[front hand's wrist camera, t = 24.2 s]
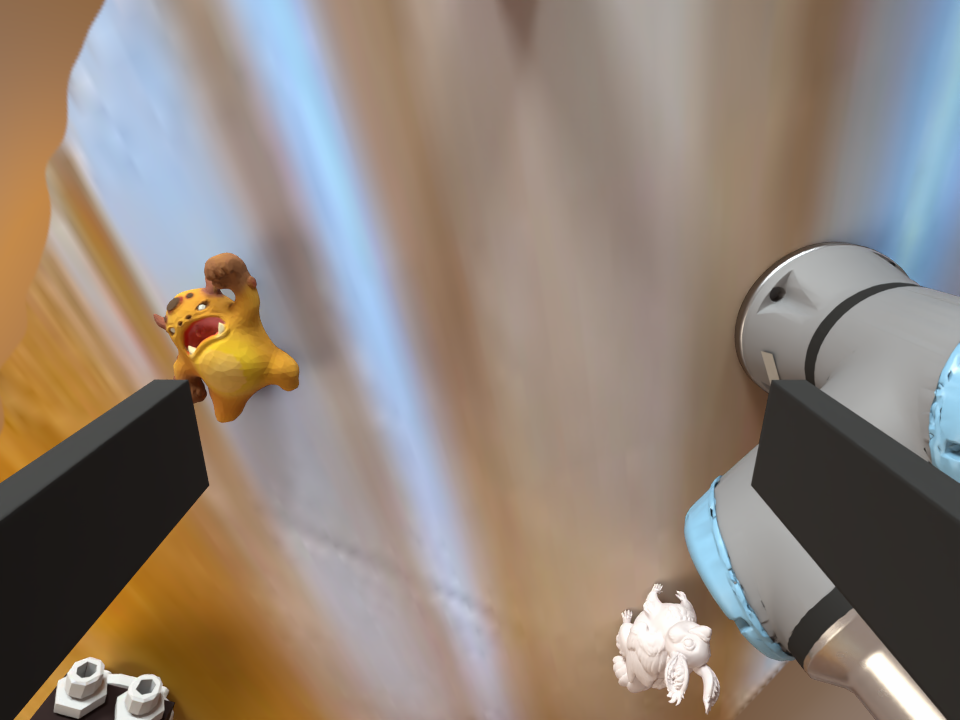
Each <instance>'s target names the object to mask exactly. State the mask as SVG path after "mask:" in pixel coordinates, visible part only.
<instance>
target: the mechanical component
mask: <svg viewBox="0 0 960 720" xmlns="http://www.w3.org/2000/svg"><path fill="white" fill-rule="evenodd" d="M104 666H105V665H104V664H103V663H102V661H101V660H99V659H95V658H91V657H89V658H86V659H83V660H80V661H78V662H75V663H74V665H73V666H72V668H71V669H70V671H69V672H68V673H67V674H66V675H65V676H64V678H62V679H61V680H59V681H58V685H57V686H56V688H55V689H54V690H53V691H52V693H51V694H50V695H49V696H48V698H47V699H46V700H45V701H44V703H43V704H42V705H41V706H40V708H39V709H38V710H37V711H36V713H35V714H34V715H33V717H32V718H31V719H30V720H173V716H174V711H173V707H174V704H175V702H171V701H169V700H168V699H167V698H166V697H167V695H168V694H169V690H168V689H167V688H166V687H164V686H162V685H163V683H162V681H161V679H160V678H159V677H157V676H156V675H154V674H144V675H142V676H139V677H137V678H136V677H132V676H128V675H123V674H112V673H111V672H110V671H107V670H104Z"/></svg>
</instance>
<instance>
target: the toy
mask: <svg viewBox="0 0 960 720" xmlns="http://www.w3.org/2000/svg"><path fill="white" fill-rule="evenodd" d="M204 273H205V280H206V288H200V289H193V290H188V291H185V292H182V293H179V294H178V295H177V296H175V298H174V299H173V300H171V301H170V302H169V304H168V305H167V312H166V316H165V317H161V316H159V315H157V314H154V319H155V321H156V323H157V325H158V326H159V327H161V328H163V329H165V330H166V332H168V333H169V335H170V337H171V339H172V341H173V342H174V344H175V345H176V347H177V348H178V351H179V355H178V356H177V361H176V362H175V363H174V366H173V368H174V374H175V376H174V380H189V385H190V390H191V395H192V400H193V404H194V403H197V402H201V401H203V400H204V399H205V397H206V396H207V392H206V390H205V385H204V383H203V382H202V379H203V381H204V382H205V383H206V385H207V386H208V389H209V394H210V396H211V398H212V401H213V404H214V410H215V415H216V418H217V420H218V421H219V422H221V423H224V422H230V421H233V420H235V419H236V418H237V417H238V416H239V415H240V414H241V413H242V411H243V409H244V407H245V404H246V402H247V401H248V400H249V398H250V397H251V396H252V395H253V394H254V393H255V392H257V391H258V390H260V389H261V388H263V387H265V386H267V385H270V384H272V385H278V386H280V387H281V388H282V389H284V390H286V391H292V390H294V389H296V388H297V387H298V385H299V379H298V378H299V367H298V364H297V363H296V362H295V360H294V359H293V358H292V357H290V356H289V355H288V354H287V353H285V352H284V351H282V350H281V349H279V348H277V347H276V346H275V345H274V344H273V343H272V341H271V340H270V338H269V337H268V335H267V334H266V332H265V330H264V328H263V326H262V323H261V320H260V316H259V306H260V299H259V295H258V292H257V289H256V285H257V284H256V280H255V279H254V278H253V277H251V275H250V274H249V272H248V270H247V267H246V265H245V263H244V262H243V260H241V259H240V258H239V257H238V256H236V255H234V254H232V253H222V254H219V255H216V256H214V257H211V258H210V259H208V260H207V262H206V263H205V269H204ZM220 289H230V290H232V291H233V292H234V294H235V301H233V300H231V299H230V298H228V297H226V296H225V295H223V294H222V293H221V291H220ZM201 378H202V379H201Z"/></svg>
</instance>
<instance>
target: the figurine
mask: <svg viewBox="0 0 960 720" xmlns="http://www.w3.org/2000/svg"><path fill="white" fill-rule="evenodd" d="M660 585H661V584H660ZM660 585H658V584H656V587H655V584H654V587H653V588H652V591H651V592H650V593H649V594H648V596H647V599H646V602H645V603H644V606H643V607H644V611H642V612H641V613H640V614H639V615H638V616H637V618H636V620H635V621H634V624H632V623H631V617H632V611H631V613H630V611H629V610H628V611H627V612H626V610H625V611H624V613H623V612H622V617H623V624H622V625H621V627H620V629H619V633H618V635H617V637H616V640H617V643H616V645H617V647H618V649H619V650H620V652H619V653H620V654H621V655H622V656H616V657H614V658H613V662H614V666H613V670H614V672H615V675H616V677H617V678H618V679H619V684H620V685H621V686H627V688H628V690H629V691H630V692H632V693H637V692H641V691H645V690H648V689H650V688H651V687H652V688H658V689H662V688H665V687H667V691H668V692H669V693H668V695H667V696H668V697H670V698H671V697H672V699H671V700H670V701H668V702H670V703H674V702H676V700H677V704H676V706H677V705H679V704H680V702H681V699H682V698H684V696H683V695H684V694H685V691H686V689H687V687H688V683H689V674H690V673H691V672H692V671H694V672H695V673H696V674H698V675H699V676H701V677H702V679H703V684H704V694H703V702H704V704H705V709H706V713H707V715H708V712H709V711H711V706H713V704H715V702H716V701H717V699H718V697H719V693H720V685H719V681H718V679H717V677H716V675H715V673H714V672H713V670H712V669H711V668H710V667H709V666H708V665H707V664H706V663H707V662H708V660H709V658H710V656H711V653H710V645H709V641H710V639H711V635H712V629H710V628H709V627H708V626H702V625H701V626H700V625H699V624H697V617H696V613H695V610H694V608H693V606H692V604H691V603H690V602H689V601H688V600H687V598H686V595H685V594H684V593H683V592H681V591H680V592H679V591H677V590H676V591H677V593H678V594H679V595H676V594H675V595H676V596H677V597H678V598H679V599H680V601H681V603H680V604H673V603H662V602H661V601H660V600H659V599H658V597H657V595H658V594H660V593H662V592H663V591H660V590H661V589H662V586H660ZM624 614H625V616H624ZM657 678H658V679H657ZM656 679H657V680H656ZM655 680H656V681H655ZM654 681H655V682H654ZM653 683H654V684H653Z"/></svg>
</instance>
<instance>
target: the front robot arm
mask: <svg viewBox="0 0 960 720" xmlns="http://www.w3.org/2000/svg"><path fill="white" fill-rule="evenodd" d="M735 347H736V352H737V356H738V359H739V361H740V364H741V366H742V367H743V369H744V371H745V372H746V374H747V375H748V376H749V377H750V378H751V380H752V381H754V382H755V383H756V384H757V385H758V386H759V387H761V388H762V389H763V390H765V391H766V392H767V393H769V395H768V400H767V405H766V410H765V415H764V421H763V426H762V431H761V436H760V441H759V444H758V445H757V446H756V447H754V448H753V449H752V450H751V451H750V452H749V453H748V454H747V455H745V456H744V457H743V458H742V459H741V460H740V461H739V462H738V463H737V464H735V465H734V466H733V467H732V468H731V469H730V470H729V471H728V472H726V473H725V474H724V475H723V476H718V477H717V478H716V479H715V480H714V481H713V483H712V484H711V487H710V489H709V490H708V491H707V492H706V493H705V494H704V495H703V496H702V497H701V498H700V499H699V500H698V501H697V502H696V503H695V504H694V505H693V506H692V507H691V508H690V509H689V511H688V513H687V515H686V517H685V528H684V534H685V540H686V544H687V548H688V551H689V553H690V556H691V558H692V560H693V563H694V565H695V567H696V569H697V571H698V573H699V575H700V577H701V578H702V580H703V582H704V584H705V585H706V587H707V589H708V590H709V592H710V593H711V595H712V596H713V598H714V600H715V601H716V602H717V604H718V605H719V607H720V608H721V610H722V611H723V612H724V613H725V615H726V616H727V617H728V618H729V619H731V620H734V621H735V623H736V625H737V627H738V628H739V630H740V632H741V634H742V635H743V636H744V637H745V638H746V639H747V640H748V641H749V642H750V643H751V644H752V645H753V646H754V647H755V648H756V649H757V650H759V651H760V652H761V653H763V654H764V655H766V656H767V657H769V658H771V659H775V660H778V661H786V660H790V661H792V660H795V659H796V660H797V662H798V663H799V664H800V665H801V667H802V668H803V669H804V671H805V672H806V673H807V674H808V676H809V677H810V678H812V679H814V680H817V681H821V682H824V683H828V684H831V685H835V686H838V687H842V688H845V689H847V690H849V691H850V692H852V693H854V694H855V695H856V697H857V698H858V699H859V700H860V701H861V703H862V704H863V705H864V706H865V708H866V709H867V710H868V711H869V712H870V714H871V715H872V716H873V717H874V719H875V720H960V297H959V296H955V295H951V294H948V293H944V292H940V291H937V290H933V289H929V288H926V287H922V286H920V285H919V284H918V283H916V282H915V281H913V280H911V279H910V278H909V277H908V275H907V274H906V273H905V272H904V270H903V269H902V268H901V267H900V266H899V265H898V264H896V263H895V262H894V261H893V260H891V259H890V258H888V257H887V256H885V255H883V254H881V253H879V252H877V251H875V250H873V249H870V248H867V247H864V246H859V245H855V244H850V243H843V242H826V243H819V244H814V245H811V246H807V247H804V248H801V249H799V250H796V251H794V252H792V253H790V254H788V255H787V256H785V257H783V258H782V259H780V260H779V261H777V262H776V263H774V264H773V265H772V266H771V267H770V268H768V269H767V270H766V271H765V272H764V273H763V274H762V275H761V276H760V277H759V278H758V280H757V281H756V282H755V283H754V285H753V286H752V287H751V289H750V290H749V292H748V293H747V295H746V297H745V299H744V301H743V303H742V305H741V308H740V310H739V313H738V317H737V321H736V326H735ZM208 486H209V482H208V476H207V471H206V466H205V461H204V456H203V451H202V446H201V441H200V436H199V431H198V426H197V421H196V415H195V410H194V405H193V400H192V395H191V390H190V385H189V380H153V381H152V382H150V383H149V384H147V385H146V386H144V387H143V388H141V389H140V390H138V391H137V392H135V393H134V394H133V395H131V396H130V397H128V398H127V399H125V400H124V401H122V402H121V403H119V404H118V405H116V406H115V407H113V408H112V409H110V410H109V411H107V412H106V413H104V414H103V415H101V416H100V417H98V418H97V419H95V420H94V421H92V422H91V423H89V424H88V425H86V426H85V427H83V428H82V429H80V430H79V431H77V432H76V433H74V434H73V435H71V436H70V437H68V438H67V439H66V440H64V441H63V442H61V443H60V444H58V445H57V446H55V447H54V448H52V449H51V450H49V451H48V452H46V453H45V454H43V455H42V456H40V457H39V458H37V459H36V460H34V461H33V462H31V463H30V464H28V465H27V466H25V467H24V468H22V469H21V470H19V471H18V472H16V473H15V474H13V475H12V476H10V477H9V478H7V479H6V480H4V481H3V482H1V483H0V720H14V718H15V717H16V716H17V715H18V714H19V712H20V711H21V710H22V709H23V708H24V706H25V705H26V704H27V703H28V702H29V700H30V699H31V698H32V697H33V696H34V694H35V693H36V692H37V691H38V690H39V688H40V687H41V686H42V685H43V684H44V682H45V681H46V680H47V679H48V678H49V676H50V675H51V674H52V673H53V672H54V670H55V669H56V668H57V667H58V666H59V664H60V663H61V662H62V661H63V660H64V659H65V657H66V656H67V655H68V654H69V653H70V651H71V650H72V649H73V648H74V647H75V645H76V644H77V643H78V642H79V641H80V639H81V638H82V637H83V636H84V635H85V633H86V632H87V631H88V630H89V629H90V627H91V626H92V625H93V624H94V623H95V621H96V620H97V619H98V618H99V617H100V615H101V614H102V613H103V612H104V611H105V609H106V608H107V607H108V606H109V605H110V603H111V602H112V601H113V600H114V599H115V597H116V596H117V595H118V594H119V593H120V591H121V590H122V589H123V588H124V587H125V585H126V584H127V583H128V582H129V581H130V579H131V578H132V577H133V576H134V575H135V574H136V572H137V571H138V570H139V569H140V568H141V566H142V565H143V564H144V563H145V562H146V560H147V559H148V558H149V557H150V556H151V554H152V553H153V552H154V551H155V550H156V548H157V547H158V546H159V545H160V544H161V542H162V541H163V540H164V539H165V538H166V536H167V535H168V534H169V533H170V532H171V530H172V529H173V528H174V527H175V526H176V524H177V523H178V522H179V521H180V520H181V518H182V517H183V516H184V515H185V514H186V512H187V511H188V510H189V509H190V508H191V506H192V505H193V504H194V503H195V502H196V500H197V499H198V498H199V497H200V496H201V494H202V493H203V492H204V491H205V490H206V489H207V487H208Z"/></svg>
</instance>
